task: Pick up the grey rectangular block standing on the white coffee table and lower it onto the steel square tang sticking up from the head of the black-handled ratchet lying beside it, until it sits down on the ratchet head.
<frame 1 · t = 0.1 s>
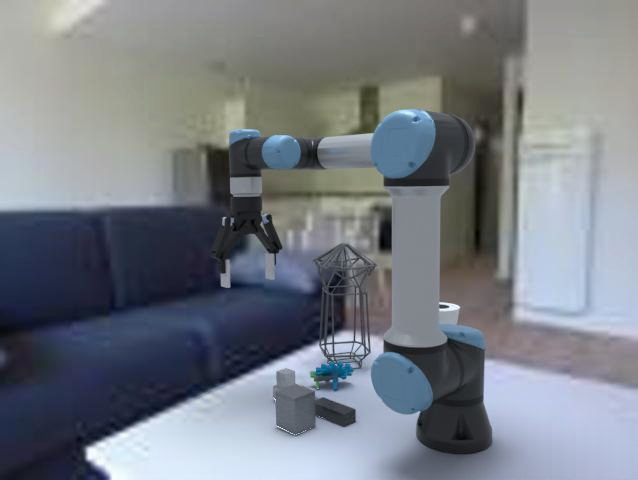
hand: (248, 283, 139), 28 cm above the table, tool pointing down, fingers open, 13 cm apart
geometric lantern: (345, 366, 162), on the table
grey rectangular block: (295, 427, 123), on the table
gear: (332, 386, 146), on the table
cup: (439, 371, 157), on the table
ratchet: (286, 399, 138), on the table
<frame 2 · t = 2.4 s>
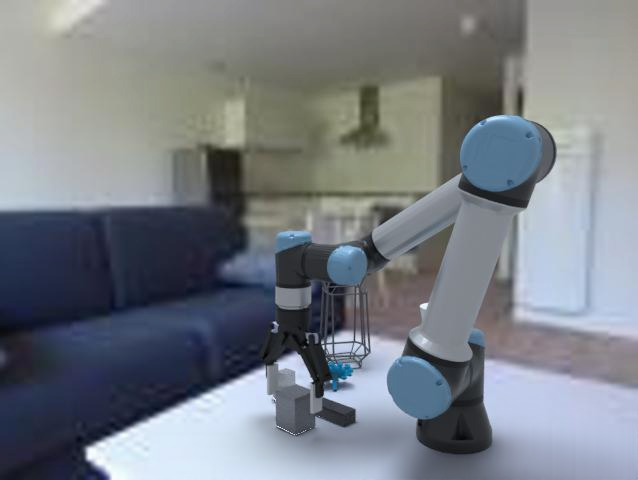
hand: (293, 402, 122), 5 cm above the table, tool pointing down, fingers open, 13 cm apart
nothing on the table moved.
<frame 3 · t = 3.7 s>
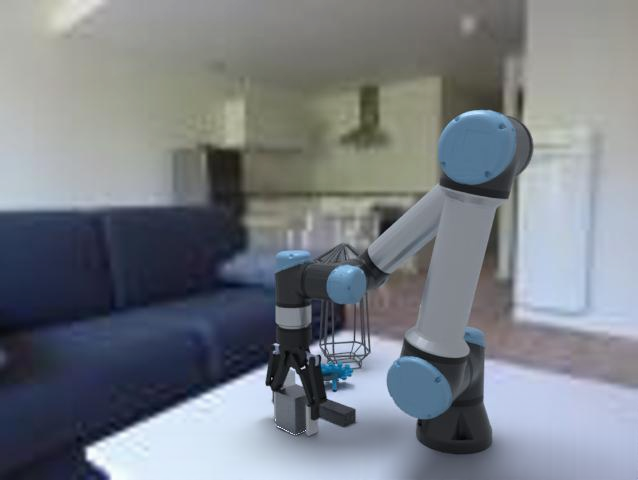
hand: (295, 426, 123), 0 cm above the table, tool pointing down, fingers open, 9 cm apart
nothing on the table moved.
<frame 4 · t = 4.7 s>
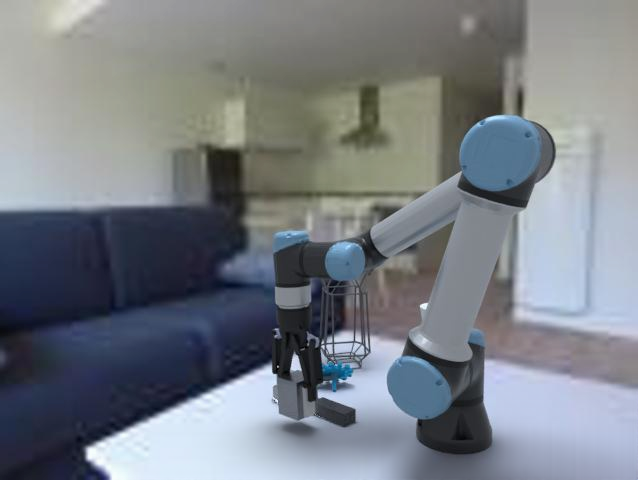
hand: (298, 411, 122), 4 cm above the table, tool pointing down, fingers closed on grey rectangular block, 6 cm apart
grey rectangular block: (298, 412, 122), point 3 cm above the table, touching gripper
everything else where it was.
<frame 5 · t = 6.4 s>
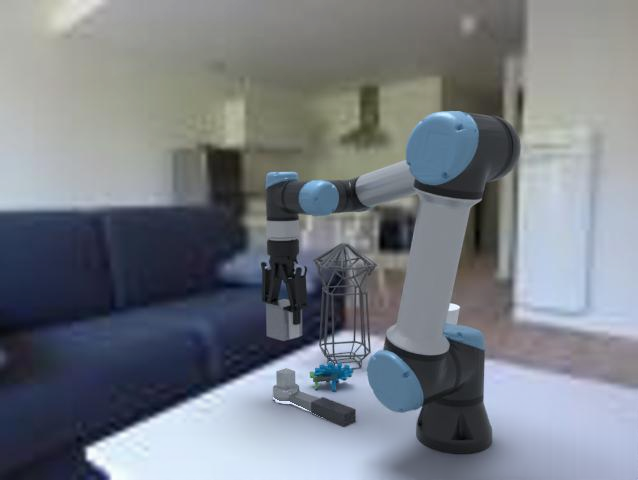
hand: (284, 334, 136), 16 cm above the table, tool pointing down, fingers closed on grey rectangular block, 6 cm apart
grey rectangular block: (284, 335, 136), point 16 cm above the table, touching gripper
everything else where it was.
when the fingers open (4 cm above the table, at t = 8.4 s): grey rectangular block stays where it is, resting on ratchet.
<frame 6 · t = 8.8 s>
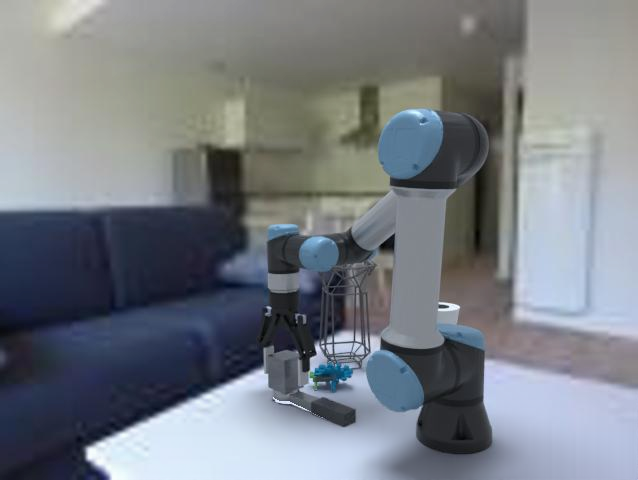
hand: (285, 378, 137), 5 cm above the table, tool pointing down, fingers open, 11 cm apart
grey rectangular block: (286, 387, 138), point 3 cm above the table, touching ratchet
everything else where it was.
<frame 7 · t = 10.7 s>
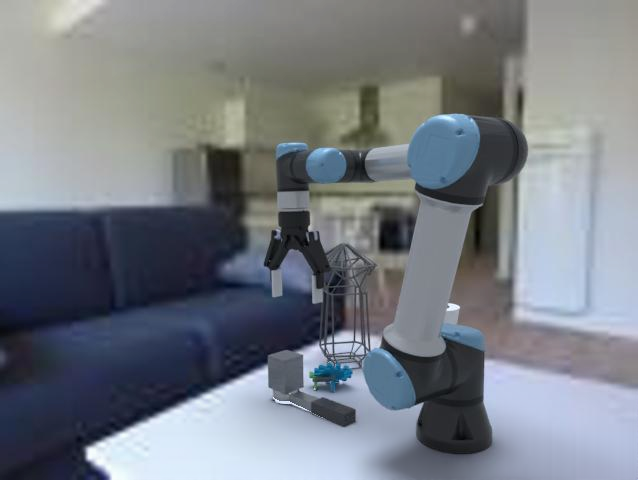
hand: (296, 299, 136), 24 cm above the table, tool pointing down, fingers open, 13 cm apart
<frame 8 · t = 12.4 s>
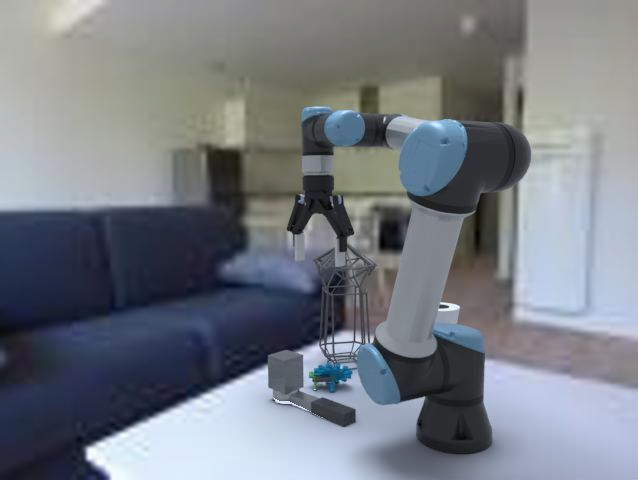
hand: (319, 263, 137), 33 cm above the table, tool pointing down, fingers open, 13 cm apart
at the end: grey rectangular block 0.0 cm off-centre on the ratchet, point 3.0 cm above the ratchet's base; grey rectangular block tilted 0°; the gripper is holding nothing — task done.
